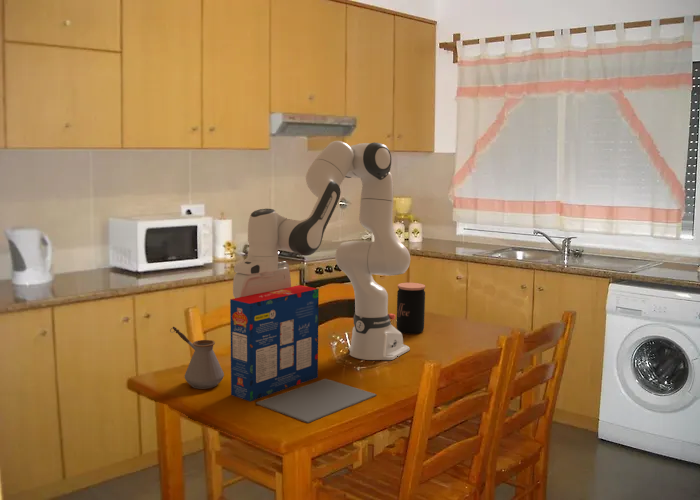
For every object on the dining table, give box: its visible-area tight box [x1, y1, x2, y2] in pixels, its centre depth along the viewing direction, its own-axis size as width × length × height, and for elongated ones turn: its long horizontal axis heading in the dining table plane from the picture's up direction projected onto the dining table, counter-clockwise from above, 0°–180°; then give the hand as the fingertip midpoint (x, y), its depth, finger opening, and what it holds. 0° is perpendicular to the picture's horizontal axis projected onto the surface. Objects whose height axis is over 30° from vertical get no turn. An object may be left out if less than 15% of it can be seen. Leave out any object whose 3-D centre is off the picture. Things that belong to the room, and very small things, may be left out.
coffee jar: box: [395, 282, 426, 335], centre depth 277 cm, size 11×11×18 cm
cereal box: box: [229, 284, 320, 402], centre depth 211 cm, size 28×8×28 cm, turn 140°
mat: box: [255, 378, 377, 424], centre depth 202 cm, size 28×20×1 cm
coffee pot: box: [169, 326, 225, 390], centre depth 215 cm, size 21×12×15 cm, turn 49°
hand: (263, 310), depth 214 cm, fingers closed
